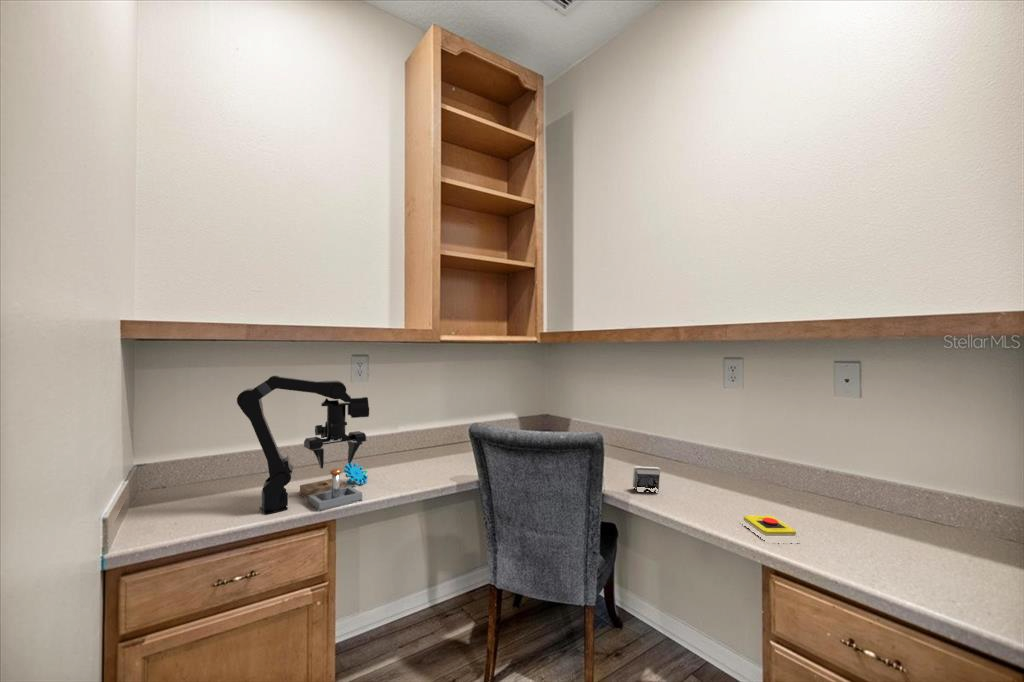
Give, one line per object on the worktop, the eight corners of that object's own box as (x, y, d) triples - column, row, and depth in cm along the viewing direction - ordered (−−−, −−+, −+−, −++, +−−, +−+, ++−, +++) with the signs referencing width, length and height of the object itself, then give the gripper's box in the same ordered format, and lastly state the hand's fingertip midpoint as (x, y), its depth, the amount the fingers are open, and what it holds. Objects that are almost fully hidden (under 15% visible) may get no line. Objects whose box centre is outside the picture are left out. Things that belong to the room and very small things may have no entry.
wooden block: (307, 499, 148) (308, 490, 148) (299, 493, 153) (299, 485, 154) (343, 491, 156) (343, 483, 156) (334, 486, 162) (334, 478, 162)
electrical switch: (658, 490, 161) (659, 465, 161) (661, 496, 156) (662, 470, 156) (632, 488, 163) (632, 464, 162) (634, 495, 158) (634, 469, 157)
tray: (319, 511, 138) (319, 503, 138) (308, 502, 145) (308, 495, 145) (362, 500, 147) (362, 493, 147) (349, 493, 155) (349, 486, 155)
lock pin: (332, 502, 144) (332, 471, 144) (328, 499, 146) (328, 469, 146) (342, 500, 146) (342, 469, 146) (338, 497, 148) (338, 467, 149)
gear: (354, 485, 158) (341, 462, 162) (344, 495, 160) (332, 472, 164) (375, 480, 168) (363, 459, 172) (365, 490, 170) (353, 469, 173)
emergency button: (768, 529, 118) (737, 508, 133) (768, 546, 118) (737, 523, 133) (802, 529, 118) (768, 508, 133) (802, 546, 118) (768, 523, 133)
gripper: (353, 413, 159) (352, 456, 159) (298, 418, 146) (297, 466, 146) (367, 417, 151) (366, 462, 150) (310, 423, 138) (309, 473, 138)
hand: (335, 465), depth 146 cm, fingers open, 9 cm apart
